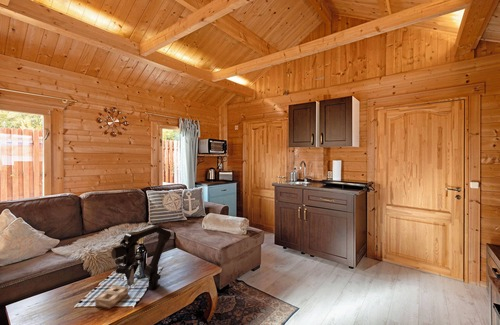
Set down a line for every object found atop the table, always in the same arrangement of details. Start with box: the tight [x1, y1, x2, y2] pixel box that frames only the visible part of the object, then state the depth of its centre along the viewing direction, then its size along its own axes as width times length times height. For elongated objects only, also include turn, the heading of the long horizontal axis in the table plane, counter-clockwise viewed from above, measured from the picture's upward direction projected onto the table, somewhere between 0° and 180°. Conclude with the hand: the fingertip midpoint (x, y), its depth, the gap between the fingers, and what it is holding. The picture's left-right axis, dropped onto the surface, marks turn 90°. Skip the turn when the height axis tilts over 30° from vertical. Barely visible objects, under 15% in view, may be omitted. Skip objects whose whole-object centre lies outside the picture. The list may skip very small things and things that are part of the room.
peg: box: [126, 266, 135, 286], centre depth 153 cm, size 4×4×10 cm
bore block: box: [94, 285, 129, 310], centre depth 151 cm, size 15×10×4 cm, turn 168°
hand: (130, 277), depth 153 cm, fingers closed on peg, 4 cm apart
